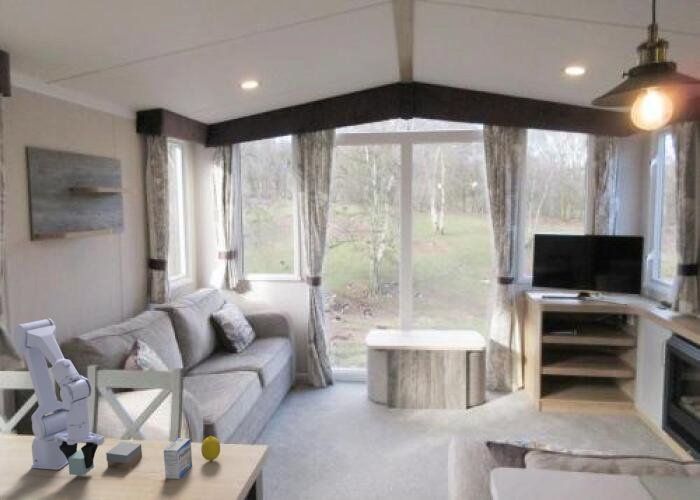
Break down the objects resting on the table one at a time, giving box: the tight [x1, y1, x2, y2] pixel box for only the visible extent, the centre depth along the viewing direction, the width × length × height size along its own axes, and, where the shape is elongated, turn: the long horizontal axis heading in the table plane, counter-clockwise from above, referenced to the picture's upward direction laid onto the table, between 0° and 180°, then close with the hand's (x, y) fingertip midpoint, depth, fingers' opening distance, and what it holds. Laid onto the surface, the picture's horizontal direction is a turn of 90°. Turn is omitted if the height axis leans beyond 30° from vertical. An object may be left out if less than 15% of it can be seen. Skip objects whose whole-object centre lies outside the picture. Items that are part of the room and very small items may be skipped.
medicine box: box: [163, 437, 193, 480], centre depth 154 cm, size 8×4×9 cm, turn 168°
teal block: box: [68, 449, 95, 476], centre depth 152 cm, size 4×4×5 cm
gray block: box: [105, 441, 143, 463], centre depth 160 cm, size 7×7×2 cm
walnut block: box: [107, 451, 143, 470], centre depth 161 cm, size 7×7×2 cm
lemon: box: [200, 435, 221, 462], centre depth 160 cm, size 6×6×8 cm
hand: (81, 466), depth 153 cm, fingers closed on teal block, 4 cm apart
